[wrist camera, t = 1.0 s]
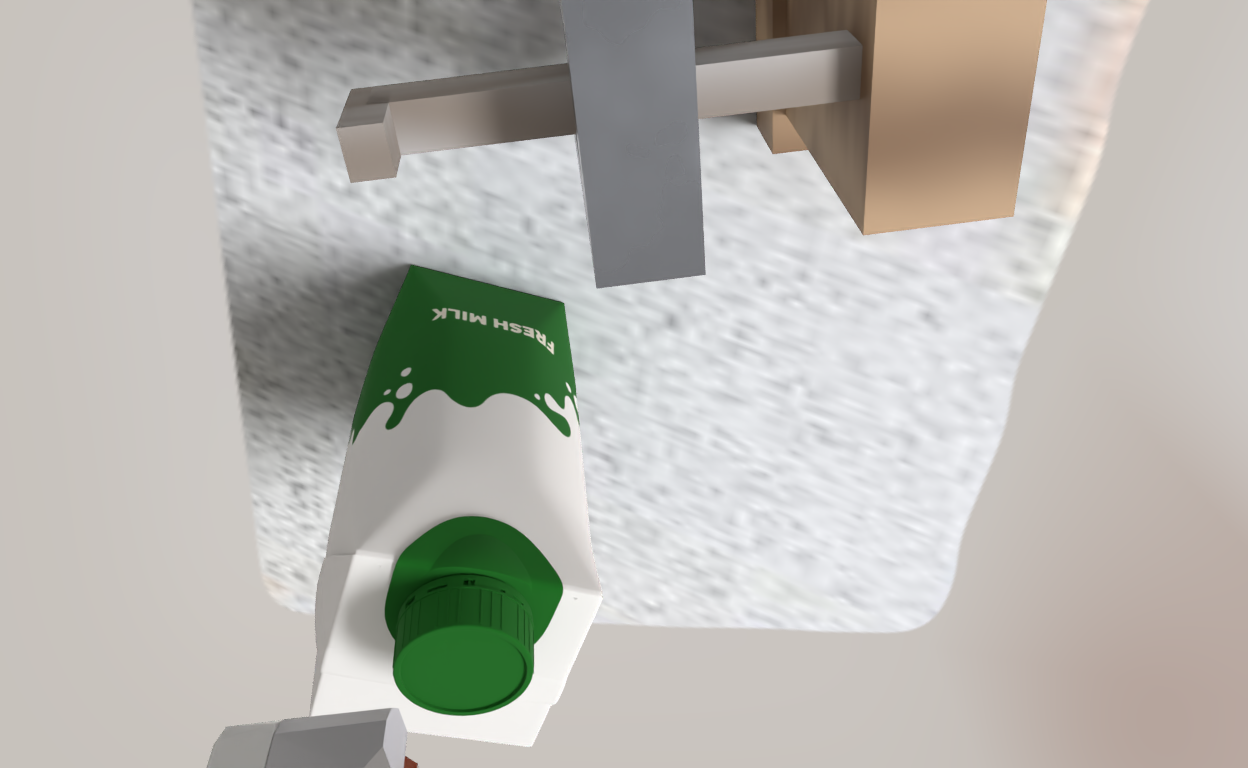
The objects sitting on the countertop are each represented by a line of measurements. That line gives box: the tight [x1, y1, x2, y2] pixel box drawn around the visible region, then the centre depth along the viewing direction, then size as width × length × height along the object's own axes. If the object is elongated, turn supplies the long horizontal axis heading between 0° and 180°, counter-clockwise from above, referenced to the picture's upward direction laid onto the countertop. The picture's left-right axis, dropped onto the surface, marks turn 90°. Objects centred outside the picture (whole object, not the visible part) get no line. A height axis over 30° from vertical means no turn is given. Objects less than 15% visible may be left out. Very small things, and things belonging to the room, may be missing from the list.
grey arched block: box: [559, 0, 705, 288], centre depth 29 cm, size 8×3×11 cm, turn 5°
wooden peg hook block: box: [336, 0, 1047, 235], centre depth 31 cm, size 12×20×14 cm, turn 95°
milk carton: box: [309, 265, 603, 747], centre depth 37 cm, size 9×9×20 cm
